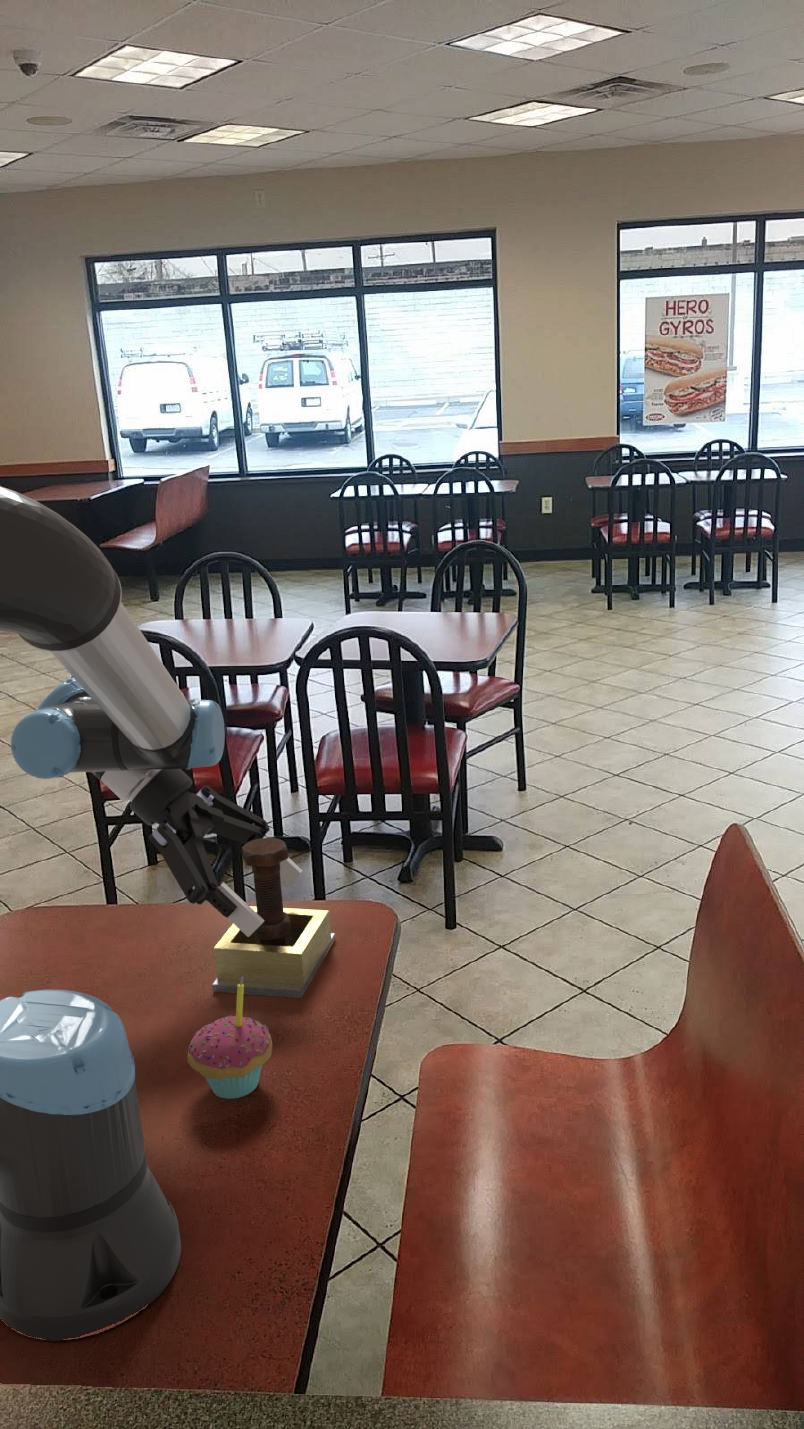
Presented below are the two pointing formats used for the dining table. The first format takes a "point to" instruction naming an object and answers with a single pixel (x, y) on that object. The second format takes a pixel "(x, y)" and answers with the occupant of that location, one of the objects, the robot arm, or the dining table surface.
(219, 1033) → the cupcake
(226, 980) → the mount
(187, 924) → the dining table surface
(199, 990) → the dining table surface
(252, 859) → the bolt
